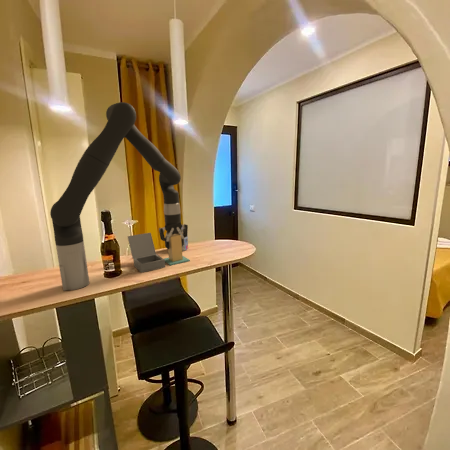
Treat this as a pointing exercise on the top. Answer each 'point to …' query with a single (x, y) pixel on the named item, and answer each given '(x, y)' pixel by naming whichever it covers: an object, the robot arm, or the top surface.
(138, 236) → the lid
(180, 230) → the ink cartridge box
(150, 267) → the case
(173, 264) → the mat
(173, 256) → the block
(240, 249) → the top surface
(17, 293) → the top surface
